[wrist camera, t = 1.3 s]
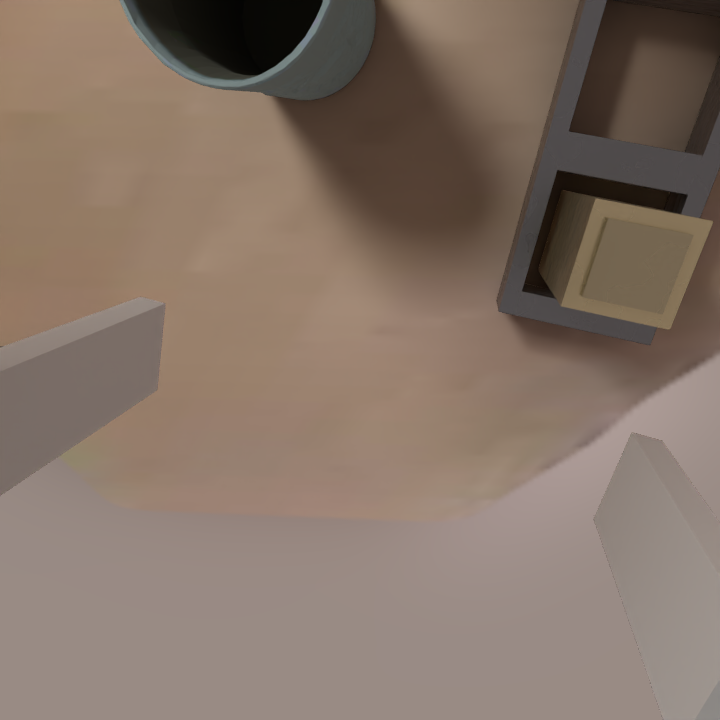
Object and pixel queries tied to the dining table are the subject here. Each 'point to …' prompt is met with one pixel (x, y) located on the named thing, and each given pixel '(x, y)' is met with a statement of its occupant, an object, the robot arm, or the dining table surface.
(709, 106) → the grey compartment tray
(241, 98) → the dining table surface
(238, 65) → the grey-green cup
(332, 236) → the dining table surface
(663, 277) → the beige recessed-panel block
